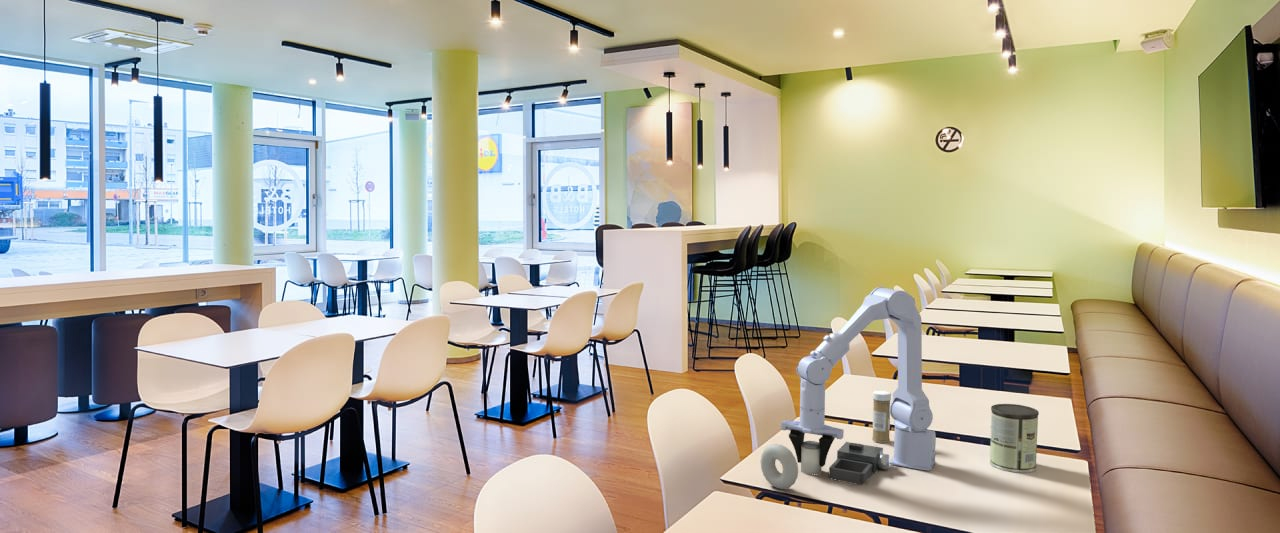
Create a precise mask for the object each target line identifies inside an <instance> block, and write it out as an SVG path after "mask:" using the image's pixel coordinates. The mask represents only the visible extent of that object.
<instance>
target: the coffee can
mask: <svg viewBox="0 0 1280 533" xmlns="http://www.w3.org/2000/svg"><path fill="white" fill-rule="evenodd" d="M990 410H991V422H990V424H991V425H990V449H989V450H990V453H989V454H990V456H989V457H990V458H989V464H990V465H991V466H992V467H994V468H996V469H998V470H1002V471H1005V472H1009V473H1010V472H1011V473H1020V474H1022V473H1023V474H1027V473H1033V472H1035V471H1036V470H1037V450H1038V446H1037V445H1038V426H1039V425H1038V424H1039V423H1038V422H1039V420H1038V419H1039V415H1040V414H1039V410H1038V409H1036V408H1033V407H1030V406H1026V405H1023V404H1022V405H1021V404H1015V403H997V404H994V405H991V406H990Z"/></svg>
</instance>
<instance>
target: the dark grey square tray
mask: <svg viewBox="0 0 1280 533" xmlns="http://www.w3.org/2000/svg"><path fill="white" fill-rule="evenodd" d="M828 473H829V474H828V479H832V480H834V479H836V480H835V481H839V480H840V481H839V482H844V481H845V482H846V483H850V482H851V483H850V484H855V483H856V485H863V484H864V485H865V484H866V483H867V482H868V481H869V480H870V478H871V477H872V476H873V473H872V464H869V463H865V462H859V461H854V460H848V459H839V458H838V459H837V458H836V460H835V461H834V462H833V463H832V464H831V465H830V466H829V468H828Z"/></svg>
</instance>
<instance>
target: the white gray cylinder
mask: <svg viewBox="0 0 1280 533" xmlns="http://www.w3.org/2000/svg"><path fill="white" fill-rule="evenodd" d="M822 468H823V467H820V445H819V441H815V440H804V442H803V445H802V446H801V463H800V473H802V472H803V474H804V473H805V474H804V475H808V474H811V475H810V476H816V474H818V475H820V473H821V474H822ZM812 474H813V475H812ZM814 474H815V475H814Z"/></svg>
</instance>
